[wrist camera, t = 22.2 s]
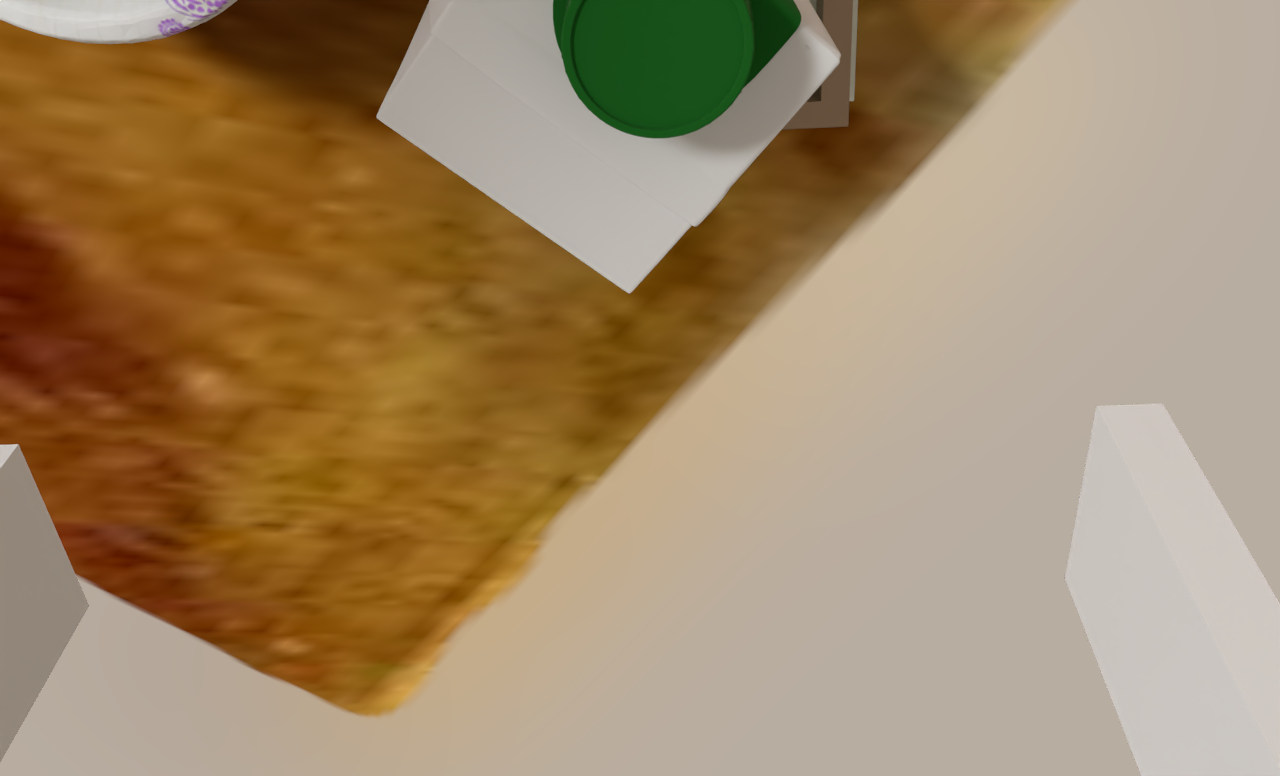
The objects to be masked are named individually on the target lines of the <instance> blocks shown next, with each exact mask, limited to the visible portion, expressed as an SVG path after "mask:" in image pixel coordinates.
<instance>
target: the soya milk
mask: <svg viewBox="0 0 1280 776" xmlns="http://www.w3.org/2000/svg"><path fill="white" fill-rule="evenodd" d="M840 58H841V54H840V52H839V50H838V49H837V47H836V45H835V44H834V42H833V40H832V39H831V37H830V35H829V33H828V32H827V30H826V28H825V27H824V25H823V23H822V22H821V20H820V18H819V17H818V15H817V13H816V11H815V10H814V8H813V6H812V5H811V3H810V1H809V0H429V2H428V5H427V7H426V9H425V12H424V14H423V16H422V18H421V21H420V23H419V25H418V28H417V30H416V32H415V34H414V37H413V39H412V41H411V43H410V46H409V48H408V50H407V53H406V55H405V57H404V59H403V61H402V63H401V66H400V68H399V70H398V72H397V74H396V76H395V79H394V81H393V83H392V84H391V86H390V88H389V90H388V92H387V94H386V96H385V98H384V101H383V103H382V105H381V107H380V109H379V111H378V113H377V116H376V118H377V119H379V120H380V121H381V122H383V123H384V124H385V125H387V126H388V127H390V128H391V129H393V130H394V131H396V132H397V133H398V134H400V135H401V136H403V137H404V138H406V139H407V140H408V141H410V142H411V143H413V144H414V145H416V146H417V147H419V148H420V149H421V150H423V151H424V152H426V153H427V154H429V155H430V156H431V157H433V158H434V159H436V160H437V161H439V162H440V163H442V164H443V165H444V166H446V167H447V168H449V169H450V170H452V171H453V172H454V173H456V174H457V175H459V176H460V177H462V178H463V179H465V180H466V181H467V182H469V183H470V184H472V185H473V186H475V187H476V188H477V189H479V190H480V191H482V192H483V193H485V194H486V195H488V196H489V197H490V198H492V199H493V200H495V201H496V202H498V203H499V204H500V205H502V206H503V207H505V208H506V209H508V210H509V211H511V212H512V213H513V214H515V215H516V216H518V217H519V218H521V219H522V220H523V221H525V222H526V223H528V224H529V225H531V226H532V227H534V228H535V229H536V230H538V231H539V232H541V233H542V234H544V235H545V236H546V237H548V238H549V239H551V240H552V241H554V242H555V243H557V244H558V245H559V246H561V247H562V248H564V249H565V250H567V251H568V252H569V253H571V254H572V255H574V256H575V257H577V258H578V259H580V260H581V261H582V262H584V263H585V264H587V265H588V266H590V267H591V268H592V269H594V270H595V271H597V272H598V273H600V274H601V275H602V276H604V277H605V278H607V279H608V280H610V281H611V282H613V283H614V284H615V285H617V286H618V287H620V288H621V289H623V290H624V291H626V292H627V293H629V294H630V293H631V292H632V291H633V290H634V289H635V288H636V287H637V286H638V285H639V284H640V283H641V281H642V280H643V279H644V278H645V277H646V276H647V275H648V274H649V273H650V272H651V270H652V269H653V268H654V267H655V266H656V265H657V264H658V263H659V261H660V260H661V259H662V258H663V257H664V256H665V255H666V254H667V253H668V251H669V250H670V249H671V248H672V247H673V246H674V245H675V244H676V243H677V241H678V240H679V239H680V238H681V237H682V236H683V235H684V234H685V233H686V231H687V230H688V229H689V228H690V227H691V226H696V227H697V226H698V225H699V224H700V223H701V222H702V221H703V220H704V219H705V218H706V217H707V216H708V215H709V214H710V213H711V211H712V210H713V209H714V208H715V207H716V206H717V205H718V203H719V202H720V201H721V200H722V199H723V197H724V196H725V195H726V193H727V192H728V190H729V189H730V187H731V186H732V185H733V184H734V183H735V182H736V181H737V179H738V178H739V177H740V176H741V175H742V174H743V173H744V172H745V171H746V169H747V168H748V167H749V166H750V165H751V164H752V163H753V161H754V160H755V159H756V158H757V157H758V156H759V155H760V154H761V152H762V151H763V150H764V149H765V148H766V147H767V146H768V144H769V143H770V142H771V141H772V140H773V139H774V138H775V136H776V135H777V134H778V133H779V132H780V131H781V130H782V129H783V127H784V126H785V125H786V124H787V123H788V122H789V121H790V119H791V118H792V117H793V116H794V115H795V114H796V113H797V111H798V110H799V109H800V108H801V107H802V106H803V105H804V104H805V102H806V101H807V100H808V99H809V98H810V97H811V96H812V94H813V93H814V92H815V91H816V90H817V89H818V88H819V86H820V85H821V84H822V83H823V82H824V81H825V80H826V78H827V77H828V76H829V75H830V74H831V73H832V72H833V70H834V69H835V68H836V67H837V66H838V65H839V63H840Z"/></svg>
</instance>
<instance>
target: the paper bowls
mask: <svg viewBox="0 0 1280 776" xmlns="http://www.w3.org/2000/svg"><path fill="white" fill-rule="evenodd" d="M236 1H237V0H0V19H1V20H3V21H5V22H7V23H10V24H12V25H15V26H17V27H20V28H23V29H26V30H29V31H32V32H36V33H39V34H42V35H46V36H51V37H55V38H59V39H64V40H71V41H77V42H83V43H96V44H121V43H136V42H144V41H151V40H154V39H162V38H166V37H168V36H171V35H174V34H176V33H179V32H182V31H185V30H188V29H190V28H193V27H195V26H197V25H199V24H201V23H204V22H206V21H208V20H210V19H212V18H214V17H215V16H217V15H218V14H220V13H221V12H223V11H224V10H226V9H227V8H228V7H229V6H231V5H232V4H233V3H235V2H236Z"/></svg>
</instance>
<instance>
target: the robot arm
mask: <svg viewBox="0 0 1280 776" xmlns="http://www.w3.org/2000/svg"><path fill="white" fill-rule="evenodd" d="M1065 581H1066V583H1067V586H1068V588H1069V591H1070V593H1071V596H1072V599H1073V601H1074V604H1075V606H1076V609H1077V612H1078V614H1079V617H1080V619H1081V622H1082V624H1083V627H1084V630H1085V632H1086V635H1087V637H1088V640H1089V642H1090V645H1091V648H1092V650H1093V653H1094V655H1095V658H1096V661H1097V663H1098V666H1099V668H1100V671H1101V674H1102V676H1103V679H1104V681H1105V684H1106V686H1107V689H1108V692H1109V694H1110V697H1111V699H1112V702H1113V705H1114V707H1115V710H1116V712H1117V715H1118V717H1119V720H1120V722H1121V725H1122V728H1123V730H1124V733H1125V735H1126V738H1127V741H1128V743H1129V746H1130V748H1131V751H1132V753H1133V756H1134V758H1135V761H1136V764H1137V767H1138V769H1139V772H1140V774H1141V776H1280V603H1279V601H1278V600H1277V598H1276V596H1275V594H1274V593H1273V591H1272V589H1271V588H1270V586H1269V584H1268V583H1267V581H1266V579H1265V577H1264V576H1263V574H1262V572H1261V571H1260V569H1259V567H1258V566H1257V564H1256V562H1255V560H1254V559H1253V557H1252V556H1251V554H1250V552H1249V550H1248V548H1247V547H1246V545H1245V543H1244V542H1243V540H1242V538H1241V537H1240V535H1239V533H1238V531H1237V530H1236V528H1235V526H1234V524H1233V523H1232V521H1231V519H1230V518H1229V516H1228V514H1227V512H1226V511H1225V509H1224V507H1223V506H1222V504H1221V502H1220V501H1219V499H1218V497H1217V495H1216V494H1215V492H1214V490H1213V489H1212V487H1211V485H1210V484H1209V482H1208V480H1207V478H1206V477H1205V475H1204V473H1203V472H1202V470H1201V468H1200V467H1199V465H1198V463H1197V461H1196V460H1195V458H1194V456H1193V455H1192V453H1191V451H1190V449H1189V448H1188V446H1187V444H1186V443H1185V441H1184V439H1183V437H1182V436H1181V434H1180V432H1179V431H1178V429H1177V427H1176V426H1175V424H1174V422H1173V420H1172V419H1171V417H1170V415H1169V414H1168V412H1167V410H1166V408H1165V407H1164V405H1163V404H1162V403H1159V404H1134V405H1133V404H1131V405H1103V406H1096V410H1095V416H1094V421H1093V426H1092V432H1091V437H1090V443H1089V448H1088V454H1087V459H1086V464H1085V470H1084V475H1083V481H1082V486H1081V492H1080V497H1079V502H1078V508H1077V514H1076V519H1075V525H1074V530H1073V535H1072V540H1071V546H1070V551H1069V557H1068V562H1067V568H1066V573H1065ZM88 606H89V605H88V602H87V600H86V598H85V596H84V593H83V591H82V589H81V586H80V584H79V582H78V579H77V577H76V575H75V573H74V570H73V568H72V566H71V563H70V561H69V559H68V557H67V554H66V552H65V550H64V547H63V545H62V543H61V541H60V538H59V536H58V534H57V531H56V529H55V527H54V525H53V522H52V520H51V518H50V515H49V513H48V511H47V509H46V506H45V504H44V502H43V499H42V497H41V495H40V493H39V490H38V488H37V486H36V483H35V481H34V479H33V477H32V474H31V472H30V470H29V467H28V465H27V463H26V461H25V458H24V456H23V454H22V451H21V449H20V447H19V445H18V444H14V445H0V762H1V760H2V758H3V757H4V755H5V753H6V751H7V749H8V748H9V746H10V744H11V742H12V741H13V739H14V737H15V735H16V734H17V732H18V730H19V728H20V727H21V725H22V723H23V721H24V719H25V718H26V716H27V714H28V712H29V711H30V709H31V707H32V705H33V704H34V702H35V700H36V698H37V697H38V694H39V693H40V691H41V689H42V688H43V686H44V684H45V682H46V681H47V678H48V677H49V675H50V673H51V672H52V670H53V668H54V666H55V664H56V663H57V661H58V659H59V657H60V656H61V654H62V652H63V650H64V649H65V647H66V645H67V644H68V642H69V640H70V638H71V636H72V635H73V633H74V631H75V629H76V627H77V626H78V624H79V622H80V620H81V619H82V617H83V615H84V614H85V612H86V610H87V608H88Z"/></svg>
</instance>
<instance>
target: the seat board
mask: <svg viewBox="0 0 1280 776" xmlns="http://www.w3.org/2000/svg"><path fill="white" fill-rule="evenodd" d="M809 1H810V3H811V5H812V6H813V8H814V10H815V11H816V13H817V15H818V17H819V18H820V20H821V22H822V23H823V25H824V27H825V28H826V30H827V32H828V33H829V35H830V37H831V39H832V40H833V42H834V44H835V45H836V47H837V49H838V50H839V52H840V54H841V58H840V63H839V65H838V66H837V67H836V68H835V69H834V70H833V72H832V73H831V74H830V75H829V76H828V77H827V78H826V80H825V81H824V82H823V83H822V84H821V85H820V86H819V88H818V89H817V90H816V91H815V92H814V93H813V94H812V96H811V97H810V98H809V99H808V100H807V101H806V102H805V104H804V105H803V106H802V107H801V108H800V109H799V110H798V111H797V113H796V114H795V115H794V116H793V117H792V118H791V119H790V121H789V122H788V123H787V124H786V125H785V126H784V127H783V129H782V130H784V129H806V128H828V127H848V123H849V101H854V94H855V68H856V43H857V17H858V0H809Z"/></svg>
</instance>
